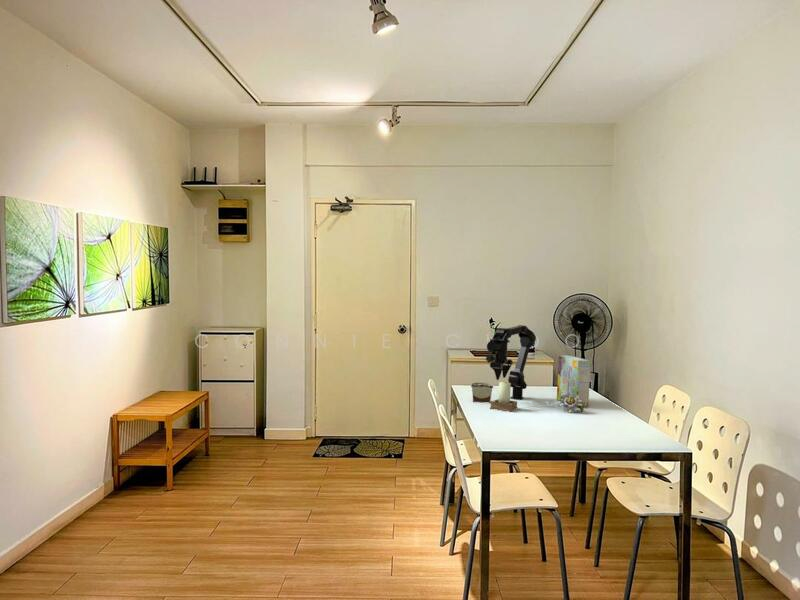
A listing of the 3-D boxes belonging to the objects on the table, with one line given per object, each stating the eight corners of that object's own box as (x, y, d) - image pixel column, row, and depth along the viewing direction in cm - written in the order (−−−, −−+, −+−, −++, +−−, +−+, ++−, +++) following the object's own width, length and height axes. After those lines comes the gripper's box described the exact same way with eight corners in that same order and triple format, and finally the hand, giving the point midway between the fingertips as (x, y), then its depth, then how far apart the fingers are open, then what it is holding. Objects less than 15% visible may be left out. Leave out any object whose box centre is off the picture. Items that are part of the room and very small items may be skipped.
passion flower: (569, 423, 299) (557, 404, 298) (565, 414, 310) (554, 396, 308) (588, 412, 297) (576, 393, 295) (584, 404, 307) (572, 386, 306)
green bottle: (504, 405, 308) (505, 381, 307) (512, 408, 302) (513, 383, 302) (495, 406, 305) (496, 381, 304) (502, 409, 300) (503, 383, 299)
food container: (492, 400, 323) (492, 382, 322) (492, 403, 317) (493, 384, 316) (470, 399, 324) (470, 381, 324) (470, 401, 318) (471, 383, 317)
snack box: (589, 407, 314) (592, 360, 313) (575, 407, 312) (577, 360, 311) (569, 398, 335) (571, 354, 334) (555, 399, 333) (557, 354, 332)
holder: (498, 405, 311) (498, 398, 311) (517, 408, 305) (517, 401, 305) (489, 408, 302) (490, 402, 302) (509, 412, 296) (510, 405, 296)
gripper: (495, 348, 331) (494, 375, 331) (481, 350, 315) (480, 379, 316) (513, 349, 325) (512, 377, 325) (500, 352, 309) (499, 381, 310)
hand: (500, 378), depth 319 cm, fingers open, 9 cm apart
